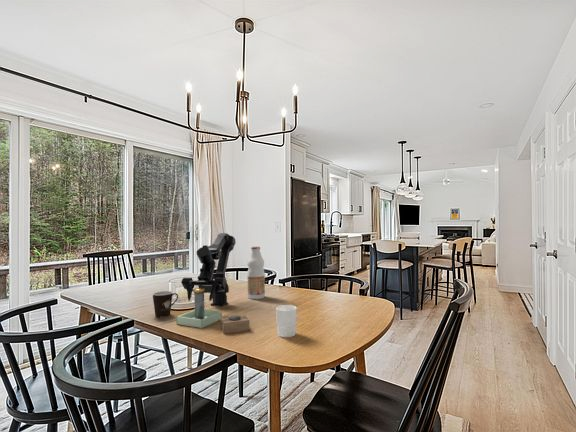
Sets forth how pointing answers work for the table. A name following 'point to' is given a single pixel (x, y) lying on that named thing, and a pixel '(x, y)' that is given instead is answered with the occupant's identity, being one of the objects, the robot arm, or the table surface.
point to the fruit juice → (256, 275)
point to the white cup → (286, 320)
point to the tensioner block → (234, 324)
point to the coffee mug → (163, 303)
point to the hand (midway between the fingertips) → (199, 300)
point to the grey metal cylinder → (199, 303)
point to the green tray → (191, 321)
